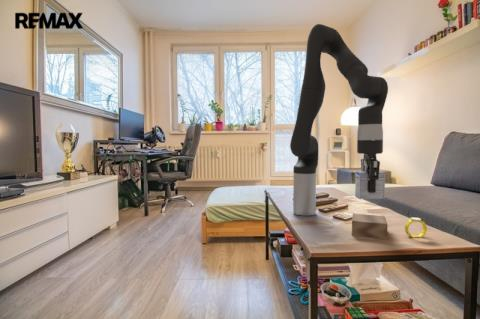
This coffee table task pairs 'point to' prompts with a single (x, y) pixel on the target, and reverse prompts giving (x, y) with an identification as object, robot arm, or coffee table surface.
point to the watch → (416, 221)
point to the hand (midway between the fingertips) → (369, 190)
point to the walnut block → (369, 226)
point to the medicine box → (362, 186)
